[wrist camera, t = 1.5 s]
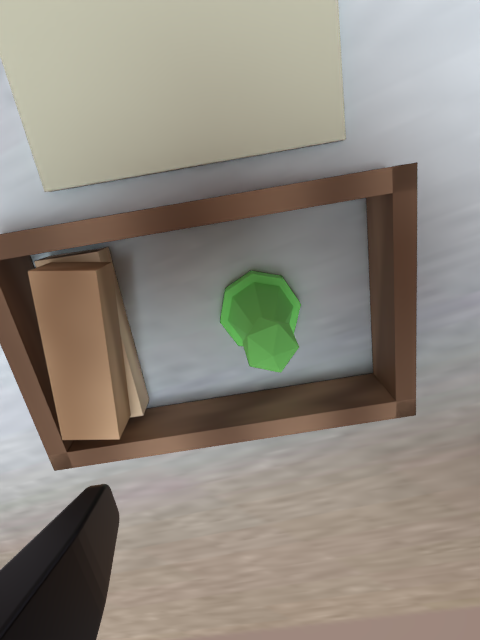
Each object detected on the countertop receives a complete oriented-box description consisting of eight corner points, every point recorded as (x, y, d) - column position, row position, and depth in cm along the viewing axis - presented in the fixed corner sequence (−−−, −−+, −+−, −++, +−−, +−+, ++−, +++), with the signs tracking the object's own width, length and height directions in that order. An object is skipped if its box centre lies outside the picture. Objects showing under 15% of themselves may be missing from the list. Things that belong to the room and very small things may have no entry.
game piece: (210, 279, 19) (202, 316, 13) (291, 261, 18) (319, 291, 13) (229, 352, 20) (229, 414, 14) (304, 336, 20) (334, 392, 14)
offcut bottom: (111, 245, 18) (97, 251, 16) (150, 395, 21) (143, 415, 19) (54, 254, 18) (34, 261, 16) (101, 403, 21) (89, 423, 20)
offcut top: (111, 261, 17) (96, 270, 15) (130, 415, 19) (119, 439, 18) (51, 262, 17) (27, 271, 15) (78, 416, 19) (62, 440, 17)
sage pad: (325, -156, 13) (328, -168, 13) (342, 140, 17) (345, 139, 16) (-39, -83, 14) (-49, -93, 13) (49, 191, 17) (44, 191, 16)
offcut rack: (386, 167, 17) (417, 162, 14) (390, 385, 21) (415, 415, 18) (0, 234, 18) (-43, 242, 15) (77, 434, 22) (54, 470, 19)
